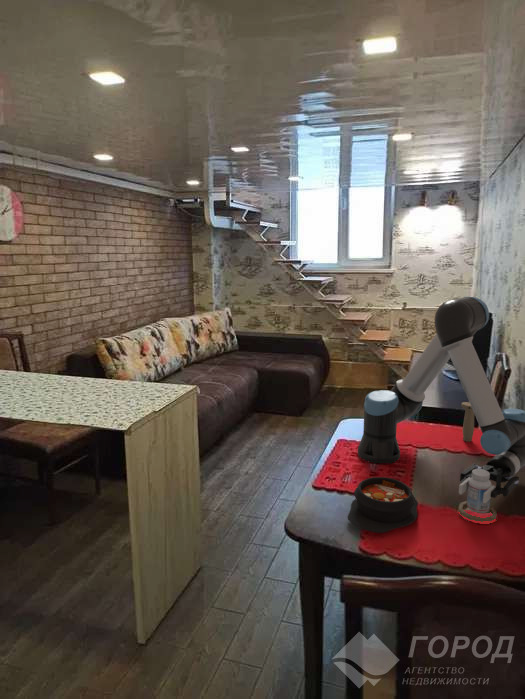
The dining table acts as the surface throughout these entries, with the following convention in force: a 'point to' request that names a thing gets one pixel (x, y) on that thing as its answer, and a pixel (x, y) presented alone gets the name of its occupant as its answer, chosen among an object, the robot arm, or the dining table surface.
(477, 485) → the pill bottle
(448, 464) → the dining table surface
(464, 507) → the ring
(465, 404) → the handle
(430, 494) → the dining table surface
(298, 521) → the dining table surface
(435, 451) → the dining table surface
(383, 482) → the casserole
